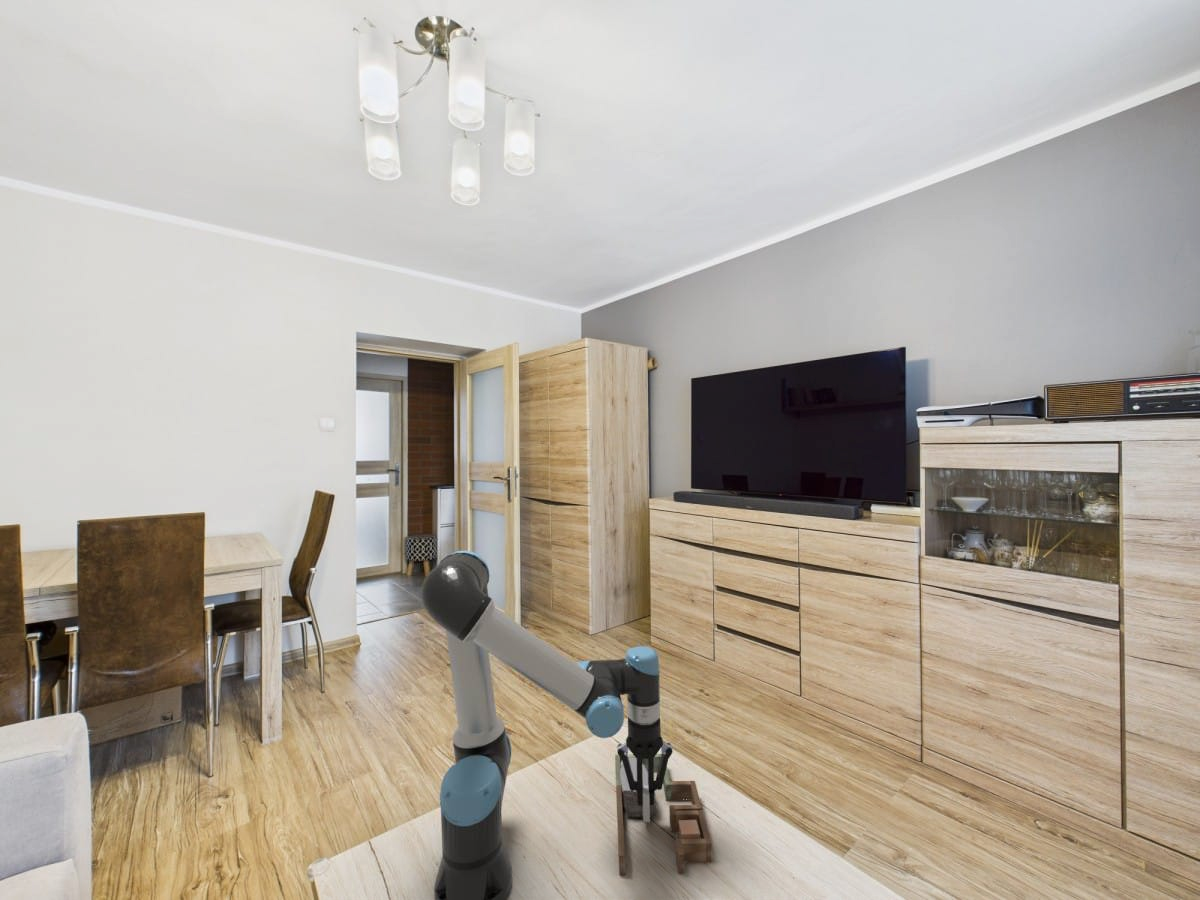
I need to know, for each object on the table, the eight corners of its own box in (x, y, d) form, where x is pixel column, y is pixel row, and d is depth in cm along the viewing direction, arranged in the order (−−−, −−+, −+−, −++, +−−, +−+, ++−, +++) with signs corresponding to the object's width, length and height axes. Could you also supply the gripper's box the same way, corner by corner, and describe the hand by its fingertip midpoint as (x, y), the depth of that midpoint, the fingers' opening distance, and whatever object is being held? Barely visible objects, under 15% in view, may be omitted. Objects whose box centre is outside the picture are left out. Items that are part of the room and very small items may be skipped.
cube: (682, 852, 109) (681, 834, 109) (678, 837, 113) (678, 820, 113) (700, 851, 109) (700, 833, 109) (696, 837, 113) (696, 819, 113)
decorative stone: (633, 830, 116) (669, 813, 120) (631, 800, 116) (667, 785, 120) (604, 791, 129) (637, 777, 133) (602, 765, 129) (636, 752, 133)
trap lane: (619, 874, 104) (618, 855, 104) (615, 769, 137) (615, 754, 137) (714, 873, 103) (714, 854, 103) (687, 767, 137) (687, 753, 137)
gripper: (616, 726, 113) (618, 830, 113) (674, 725, 113) (676, 829, 113) (615, 708, 120) (617, 806, 121) (670, 707, 120) (672, 805, 121)
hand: (646, 817), depth 117 cm, fingers closed
